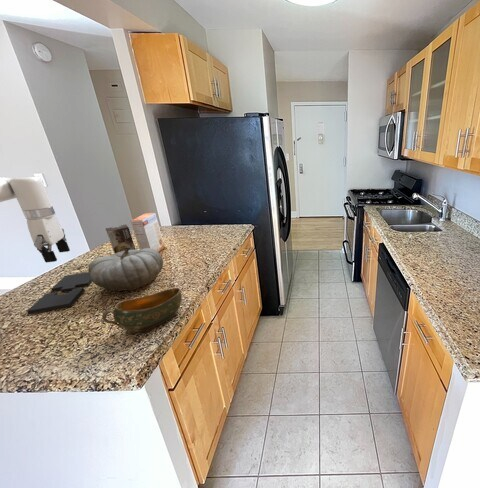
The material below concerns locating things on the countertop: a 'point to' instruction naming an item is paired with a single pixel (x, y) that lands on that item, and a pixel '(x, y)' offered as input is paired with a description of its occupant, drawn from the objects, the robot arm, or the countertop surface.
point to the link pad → (72, 282)
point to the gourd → (126, 269)
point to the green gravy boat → (145, 311)
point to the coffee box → (120, 238)
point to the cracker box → (148, 232)
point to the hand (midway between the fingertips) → (58, 256)
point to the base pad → (55, 301)
